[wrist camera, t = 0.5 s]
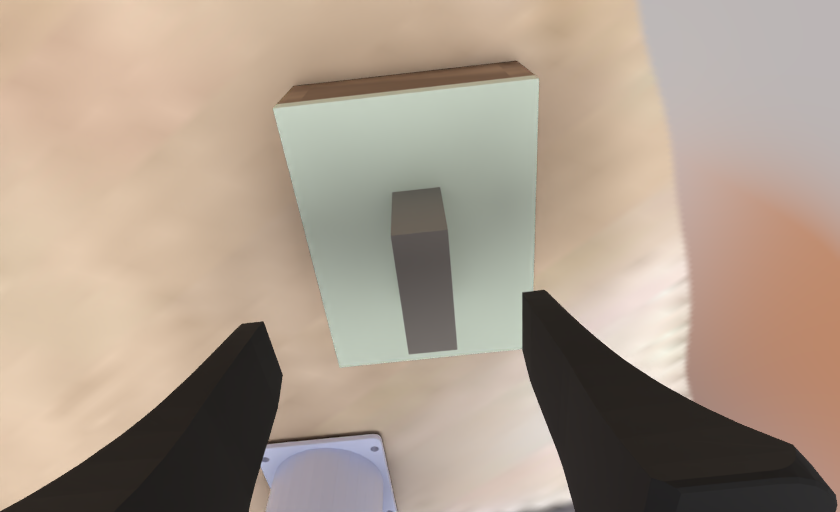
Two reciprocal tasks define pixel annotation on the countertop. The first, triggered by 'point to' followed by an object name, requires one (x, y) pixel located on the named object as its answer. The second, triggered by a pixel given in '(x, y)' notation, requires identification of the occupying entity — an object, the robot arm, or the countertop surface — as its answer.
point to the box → (405, 81)
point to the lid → (418, 215)
